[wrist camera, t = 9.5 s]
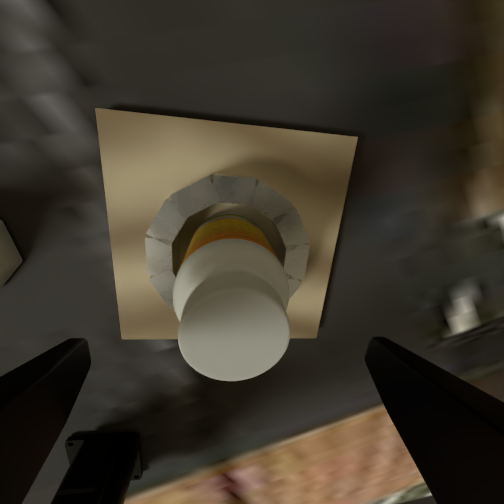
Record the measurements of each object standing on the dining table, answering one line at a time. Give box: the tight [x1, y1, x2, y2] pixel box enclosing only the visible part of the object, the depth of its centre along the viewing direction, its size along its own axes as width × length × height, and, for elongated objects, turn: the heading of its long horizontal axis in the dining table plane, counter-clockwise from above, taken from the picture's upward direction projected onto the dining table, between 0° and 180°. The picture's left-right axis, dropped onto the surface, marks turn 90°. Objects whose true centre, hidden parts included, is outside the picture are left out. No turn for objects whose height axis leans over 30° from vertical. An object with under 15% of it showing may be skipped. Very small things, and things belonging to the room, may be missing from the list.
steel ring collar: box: [145, 173, 310, 312], centre depth 16 cm, size 10×10×2 cm
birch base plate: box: [95, 108, 358, 339], centre depth 18 cm, size 16×16×1 cm
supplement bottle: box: [173, 213, 290, 381], centre depth 13 cm, size 5×5×10 cm
